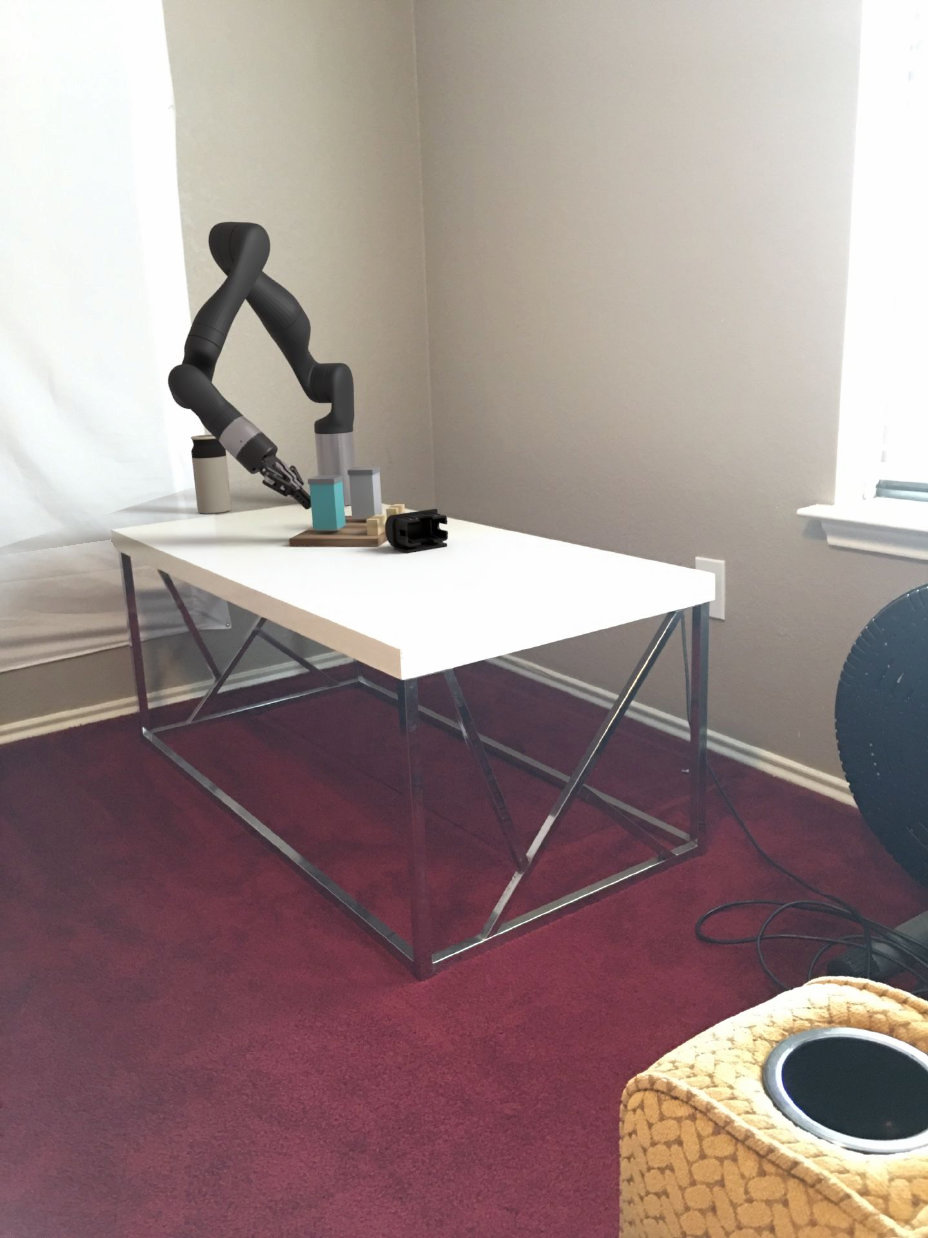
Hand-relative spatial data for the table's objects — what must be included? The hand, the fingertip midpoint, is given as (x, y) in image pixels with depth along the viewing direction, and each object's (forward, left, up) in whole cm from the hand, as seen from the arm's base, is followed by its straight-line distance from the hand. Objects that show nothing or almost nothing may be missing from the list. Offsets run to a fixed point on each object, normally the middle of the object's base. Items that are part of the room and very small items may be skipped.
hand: (311, 505), depth 205 cm
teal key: (0, +3, -4) cm, 5 cm away
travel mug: (-35, -39, -7) cm, 53 cm away
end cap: (+7, +23, -7) cm, 25 cm away
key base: (-7, +6, -7) cm, 11 cm away
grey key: (-13, +7, -4) cm, 15 cm away
